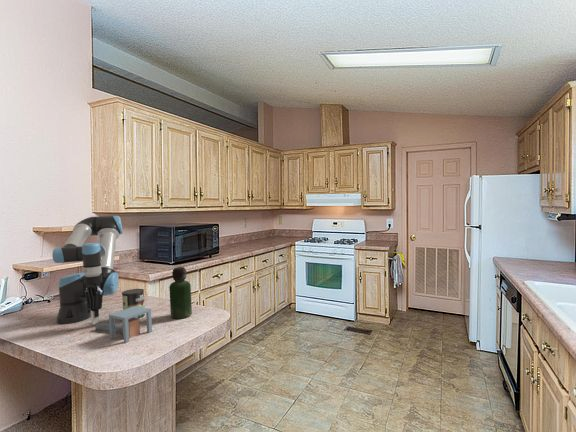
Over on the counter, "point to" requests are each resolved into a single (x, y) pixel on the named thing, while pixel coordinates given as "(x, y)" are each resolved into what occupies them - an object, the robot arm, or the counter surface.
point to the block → (133, 327)
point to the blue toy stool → (125, 316)
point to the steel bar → (106, 327)
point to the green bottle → (180, 295)
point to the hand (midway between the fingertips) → (95, 323)
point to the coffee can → (133, 299)
